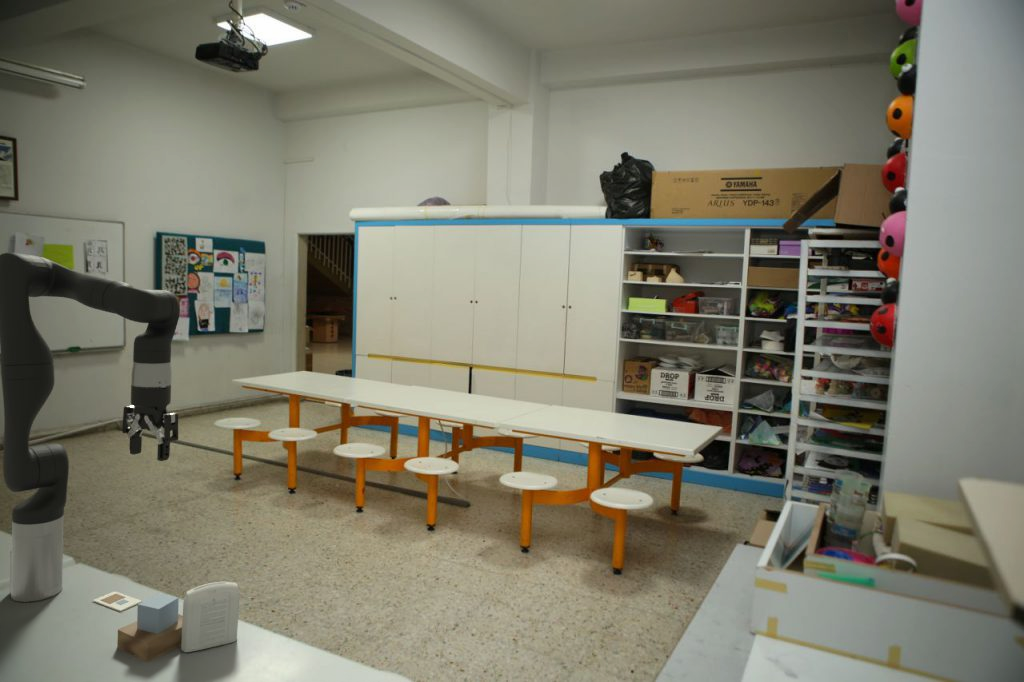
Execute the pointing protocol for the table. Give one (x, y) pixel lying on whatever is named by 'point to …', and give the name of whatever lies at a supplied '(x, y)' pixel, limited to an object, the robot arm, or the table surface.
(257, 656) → the table surface
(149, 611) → the top brick
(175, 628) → the base brick
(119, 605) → the page
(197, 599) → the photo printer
